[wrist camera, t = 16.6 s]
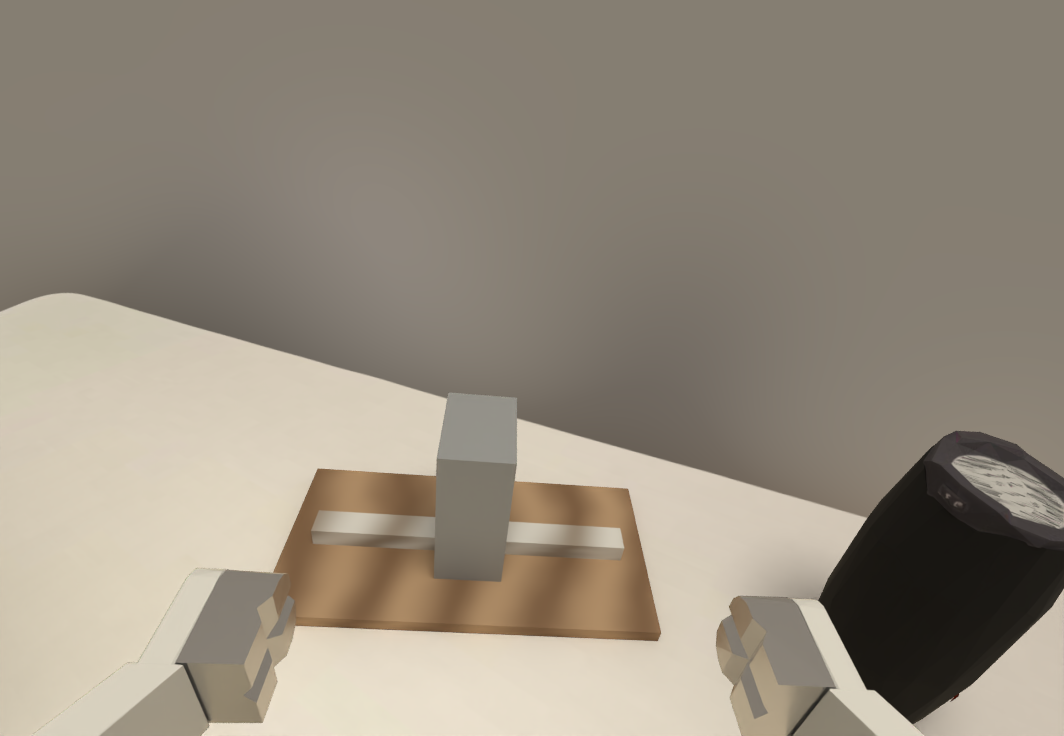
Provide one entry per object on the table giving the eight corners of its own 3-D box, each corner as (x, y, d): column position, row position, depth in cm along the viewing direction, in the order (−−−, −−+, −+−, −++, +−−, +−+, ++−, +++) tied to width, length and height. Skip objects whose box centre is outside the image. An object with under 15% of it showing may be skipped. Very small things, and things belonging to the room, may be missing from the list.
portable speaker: (955, 724, 37) (1172, 532, 26) (843, 757, 35) (1033, 559, 24) (863, 609, 44) (1006, 419, 33) (764, 630, 41) (884, 432, 31)
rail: (257, 623, 38) (251, 601, 36) (318, 476, 49) (316, 456, 48) (657, 640, 40) (666, 620, 38) (625, 496, 52) (631, 477, 50)
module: (433, 578, 41) (436, 458, 34) (443, 506, 47) (447, 392, 40) (501, 582, 41) (517, 464, 35) (503, 510, 47) (517, 397, 41)
